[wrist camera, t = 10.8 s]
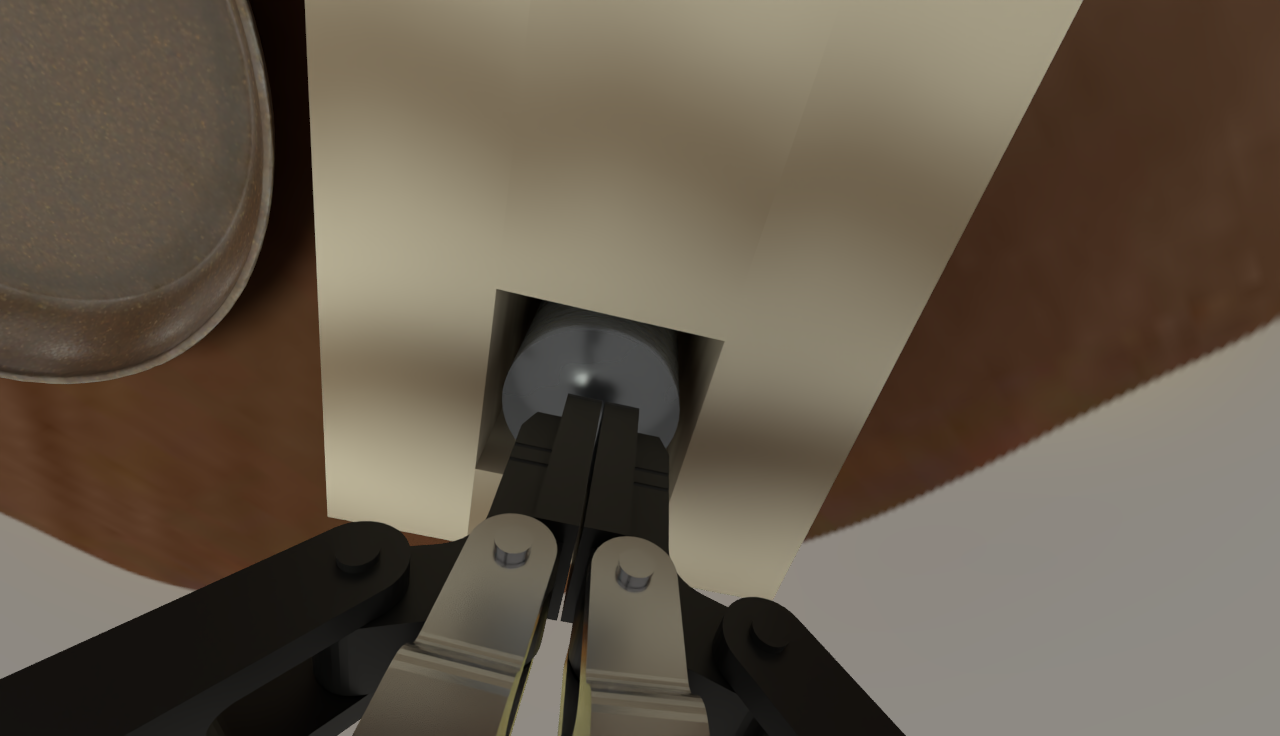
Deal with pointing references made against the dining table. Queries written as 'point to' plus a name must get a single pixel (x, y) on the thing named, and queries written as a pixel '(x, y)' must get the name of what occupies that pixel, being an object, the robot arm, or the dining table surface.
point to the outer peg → (594, 368)
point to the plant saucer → (127, 180)
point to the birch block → (644, 230)
